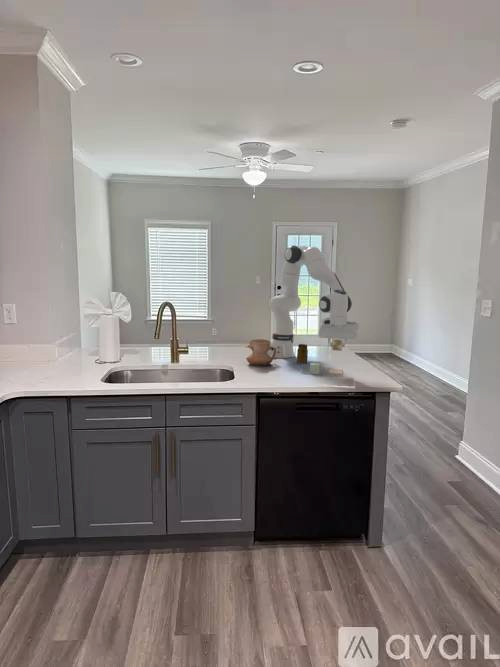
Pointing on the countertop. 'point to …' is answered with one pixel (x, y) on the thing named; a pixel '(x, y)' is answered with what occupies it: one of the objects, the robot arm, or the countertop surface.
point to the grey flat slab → (324, 372)
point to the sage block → (314, 368)
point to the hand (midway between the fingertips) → (337, 346)
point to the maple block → (337, 345)
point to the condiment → (302, 354)
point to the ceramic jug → (260, 352)
